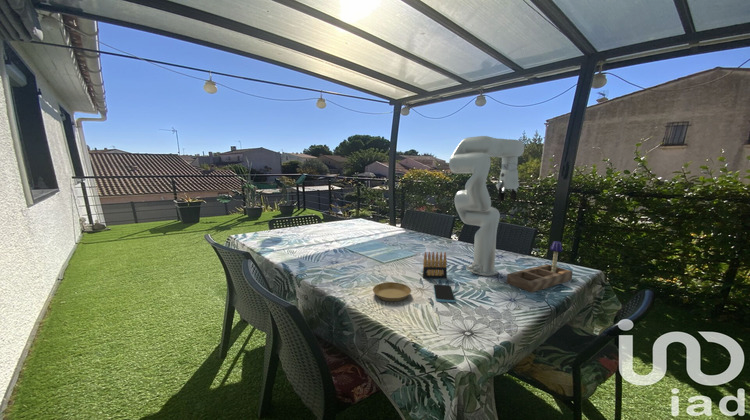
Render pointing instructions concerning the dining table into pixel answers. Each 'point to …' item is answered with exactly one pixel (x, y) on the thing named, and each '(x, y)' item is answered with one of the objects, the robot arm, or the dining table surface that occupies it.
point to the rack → (538, 278)
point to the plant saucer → (392, 291)
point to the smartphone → (443, 293)
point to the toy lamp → (555, 253)
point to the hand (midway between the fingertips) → (507, 199)
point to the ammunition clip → (434, 266)
